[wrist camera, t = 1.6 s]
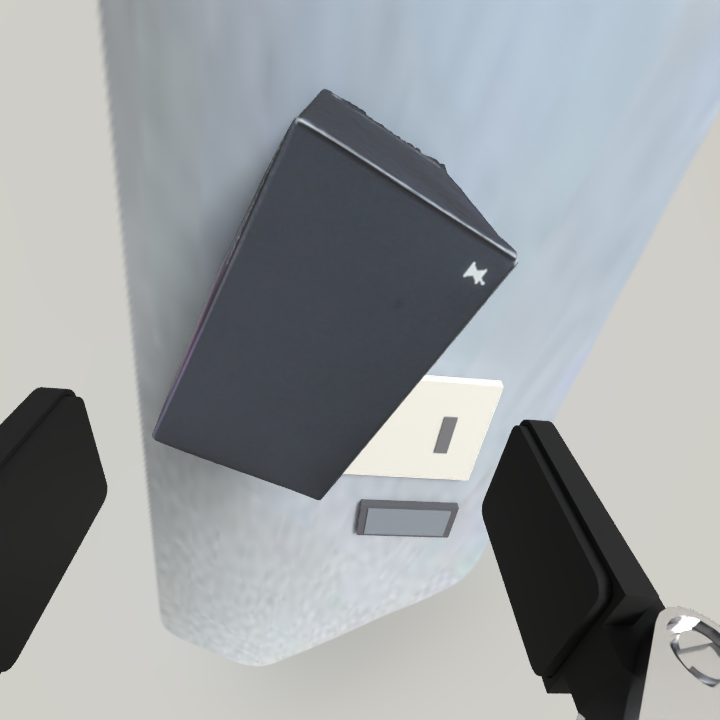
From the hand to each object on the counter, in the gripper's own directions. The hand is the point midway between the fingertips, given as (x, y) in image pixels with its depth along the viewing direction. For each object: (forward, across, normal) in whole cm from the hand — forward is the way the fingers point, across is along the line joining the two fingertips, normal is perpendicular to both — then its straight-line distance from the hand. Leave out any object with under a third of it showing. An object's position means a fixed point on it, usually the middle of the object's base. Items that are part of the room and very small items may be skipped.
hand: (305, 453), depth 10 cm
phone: (+14, -8, +20) cm, 25 cm away
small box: (+13, 0, -1) cm, 13 cm away
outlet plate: (+13, -5, +11) cm, 18 cm away
